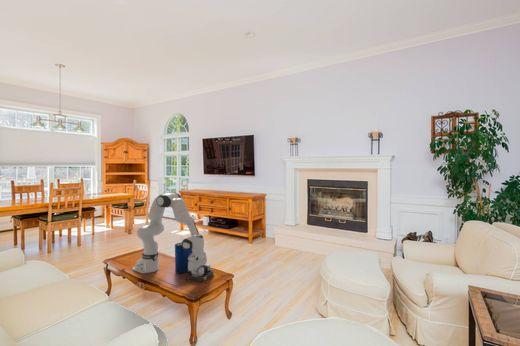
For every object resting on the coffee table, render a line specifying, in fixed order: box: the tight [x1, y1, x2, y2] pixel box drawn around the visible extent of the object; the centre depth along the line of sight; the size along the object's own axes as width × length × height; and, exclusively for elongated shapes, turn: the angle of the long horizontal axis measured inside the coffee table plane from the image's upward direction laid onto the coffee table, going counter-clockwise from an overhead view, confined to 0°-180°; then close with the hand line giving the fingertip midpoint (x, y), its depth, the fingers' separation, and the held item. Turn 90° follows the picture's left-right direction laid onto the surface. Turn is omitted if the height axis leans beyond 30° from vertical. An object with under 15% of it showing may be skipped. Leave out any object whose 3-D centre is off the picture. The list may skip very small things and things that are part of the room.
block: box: [190, 267, 204, 277], centre depth 206 cm, size 9×4×9 cm, turn 68°
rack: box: [187, 263, 215, 284], centre depth 210 cm, size 13×16×9 cm
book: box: [174, 241, 192, 275], centre depth 223 cm, size 22×7×25 cm, turn 126°
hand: (197, 272), depth 206 cm, fingers closed on block, 4 cm apart
